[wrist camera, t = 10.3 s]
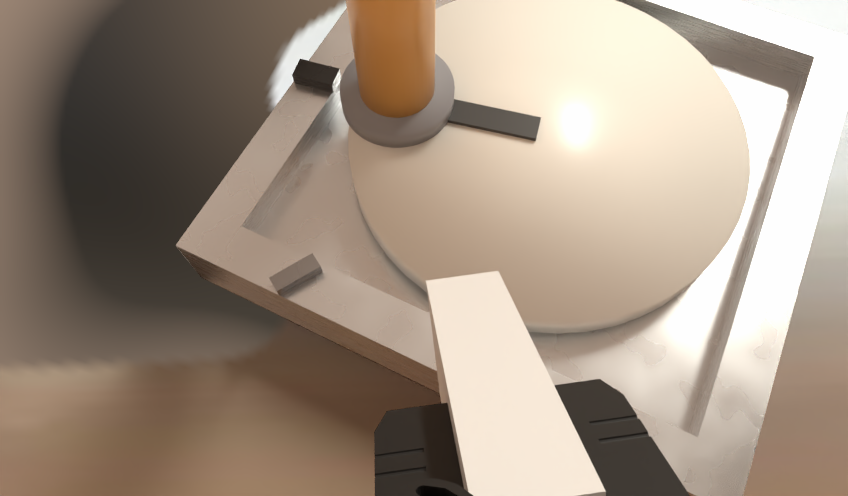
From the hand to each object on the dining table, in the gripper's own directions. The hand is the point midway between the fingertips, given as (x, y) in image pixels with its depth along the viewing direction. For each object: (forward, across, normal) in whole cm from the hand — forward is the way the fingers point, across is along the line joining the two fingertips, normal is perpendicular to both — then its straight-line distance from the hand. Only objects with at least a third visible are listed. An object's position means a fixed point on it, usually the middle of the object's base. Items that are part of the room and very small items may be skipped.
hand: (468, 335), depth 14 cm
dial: (+18, +6, 0) cm, 19 cm away
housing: (+20, +6, -2) cm, 21 cm away
